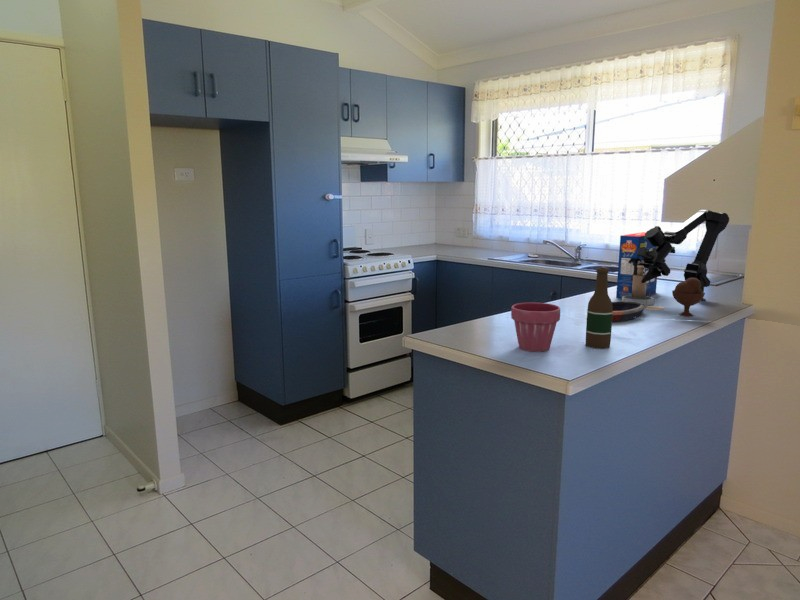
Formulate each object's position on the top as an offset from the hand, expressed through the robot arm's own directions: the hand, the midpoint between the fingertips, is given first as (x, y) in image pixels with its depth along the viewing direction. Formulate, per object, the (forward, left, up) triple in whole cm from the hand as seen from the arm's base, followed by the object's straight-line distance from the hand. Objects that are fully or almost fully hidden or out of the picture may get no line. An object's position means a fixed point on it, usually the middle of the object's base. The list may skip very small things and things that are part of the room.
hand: (636, 281), depth 242 cm
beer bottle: (+74, -22, -10) cm, 78 cm away
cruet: (-1, +1, -7) cm, 7 cm away
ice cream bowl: (+21, +15, -10) cm, 28 cm away
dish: (+28, -11, -10) cm, 32 cm away
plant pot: (+81, -41, -10) cm, 92 cm away
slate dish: (-1, +1, -10) cm, 10 cm away
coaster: (+9, +6, -10) cm, 15 cm away
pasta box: (-23, +4, -10) cm, 25 cm away
